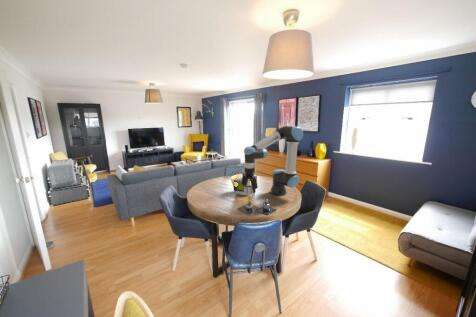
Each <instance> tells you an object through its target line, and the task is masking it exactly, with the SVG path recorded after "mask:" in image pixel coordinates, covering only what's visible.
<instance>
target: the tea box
mask: <svg viewBox="0 0 476 317" xmlns="http://www.w3.org/2000/svg"><path fill="white" fill-rule="evenodd" d="M232 180H233V181H234V182H237V183H238V186H237V187H235V186H234V185H233V194H234V195H241V196H247V197H248V196H250V194H244V189H243V185H242V177H240V176H236V177H235V178H234V179H232ZM234 182H233V183H234ZM246 185H250V180H249V179H248V182H247V184H246Z"/></svg>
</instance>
